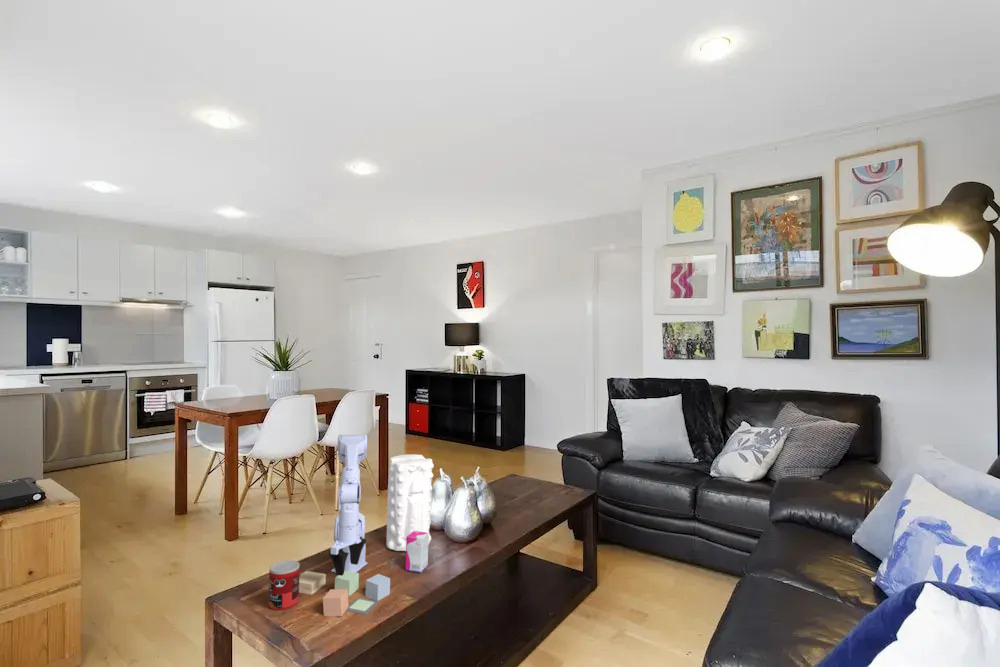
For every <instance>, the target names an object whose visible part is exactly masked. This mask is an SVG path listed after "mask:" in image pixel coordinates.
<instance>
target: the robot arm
mask: <svg viewBox="0 0 1000 667" xmlns="http://www.w3.org/2000/svg"><path fill="white" fill-rule="evenodd" d="M367 450H368V435H367V434H366V433H364V434H342V433H341V434H339V435H338V437H337V457H338V460H339V461H341V462H343V463H344V464H343V465H344V467H343V468H342V469H341V472H340V473H341V474H340V483H339V484H340V485H339V486H338V488H337V489H338V490H337V502H338V504H337V505H338V511H339V512H338V515H337V516H336V517H335V518H334V525H333V541H334V544H333V545H332V546H331V547H330V550H329V551H328V555H329V556H328V557H329V558H330V559H331V561H332V563H333V567H334V568H332V569H331V572H332V573H335V574H336V576H338V575H341V576H342V575H343V574H344V571H350V572H356V573H358V572H359V571H360V570H361V569H363V568H364V567H365V566H366V565H368V562H367V561H366V554H367V553H366V547H367V546H366V543H367V540H366V538H365V537H366V536H365V532H366V520H365V518H366V517H365V515H364V514H363V513H361V512H360V511H359V510H360V509H359V508H360V502H361V494H362V493H361V492H362V490H361V489H362V487H361V481H360V480H361V470H360V468H359V467H360V464H361V462H362V461H364V460H365V459H366V457H367Z"/></svg>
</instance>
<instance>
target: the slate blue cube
mask: <svg viewBox="0 0 1000 667" xmlns="http://www.w3.org/2000/svg"><path fill="white" fill-rule="evenodd" d="M390 594H391V578H390V577H388V576H385V575H382V574H380V573H377V574H375V575H373V576H371V577H370V578H367V579H365V597H366V598H370V600H373V601H378V602H380V601H381V600H382V599H384V598H387V596H389V595H390Z"/></svg>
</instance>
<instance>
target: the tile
mask: <svg viewBox="0 0 1000 667" xmlns="http://www.w3.org/2000/svg"><path fill="white" fill-rule="evenodd" d="M379 603H380V601H376V600H373V599H367V598H362V597H356V598H355V599H354V600H353V601H352V602H351V603H349V607H348V608H347V610H346V611H345V612H351V613H356V614H361V615H365V616H366V615H367V614H368V613H370V612H371V610H373V609H374V608H375V607H376V606H377V605H378V604H379Z"/></svg>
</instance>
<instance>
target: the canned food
mask: <svg viewBox="0 0 1000 667" xmlns="http://www.w3.org/2000/svg"><path fill="white" fill-rule="evenodd" d="M300 568H301V567H300V562H299V561H296V560H292V559H291V560H290V559H289V560H281V561H277V562H275V563H274V564H272V565H270V567H269V574H268V575H269V576H268V577H269V578H268V607H269V609H270V610H272V611H284V610H285V611H286V610H290V609H292V608H293V607H295V606H297V604H298V602H299V598H300V593H299V576H300V575H301V574H300V571H301V570H300Z"/></svg>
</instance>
